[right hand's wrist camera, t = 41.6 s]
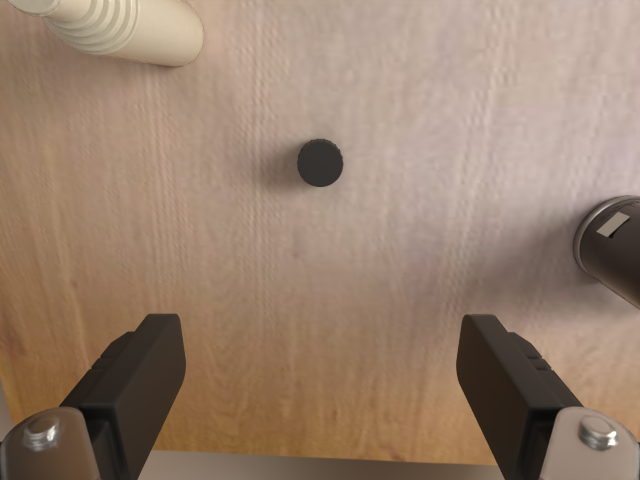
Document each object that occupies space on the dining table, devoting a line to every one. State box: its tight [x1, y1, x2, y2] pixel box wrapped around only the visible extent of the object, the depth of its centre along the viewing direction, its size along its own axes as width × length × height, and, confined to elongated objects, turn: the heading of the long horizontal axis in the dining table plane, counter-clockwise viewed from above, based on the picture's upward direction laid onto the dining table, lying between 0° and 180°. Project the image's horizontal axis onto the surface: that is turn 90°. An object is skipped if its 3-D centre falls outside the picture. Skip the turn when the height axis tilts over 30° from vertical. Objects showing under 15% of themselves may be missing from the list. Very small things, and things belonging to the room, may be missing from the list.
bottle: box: [7, 0, 203, 67], centre depth 27 cm, size 6×6×19 cm
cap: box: [297, 139, 343, 187], centre depth 39 cm, size 4×4×2 cm
